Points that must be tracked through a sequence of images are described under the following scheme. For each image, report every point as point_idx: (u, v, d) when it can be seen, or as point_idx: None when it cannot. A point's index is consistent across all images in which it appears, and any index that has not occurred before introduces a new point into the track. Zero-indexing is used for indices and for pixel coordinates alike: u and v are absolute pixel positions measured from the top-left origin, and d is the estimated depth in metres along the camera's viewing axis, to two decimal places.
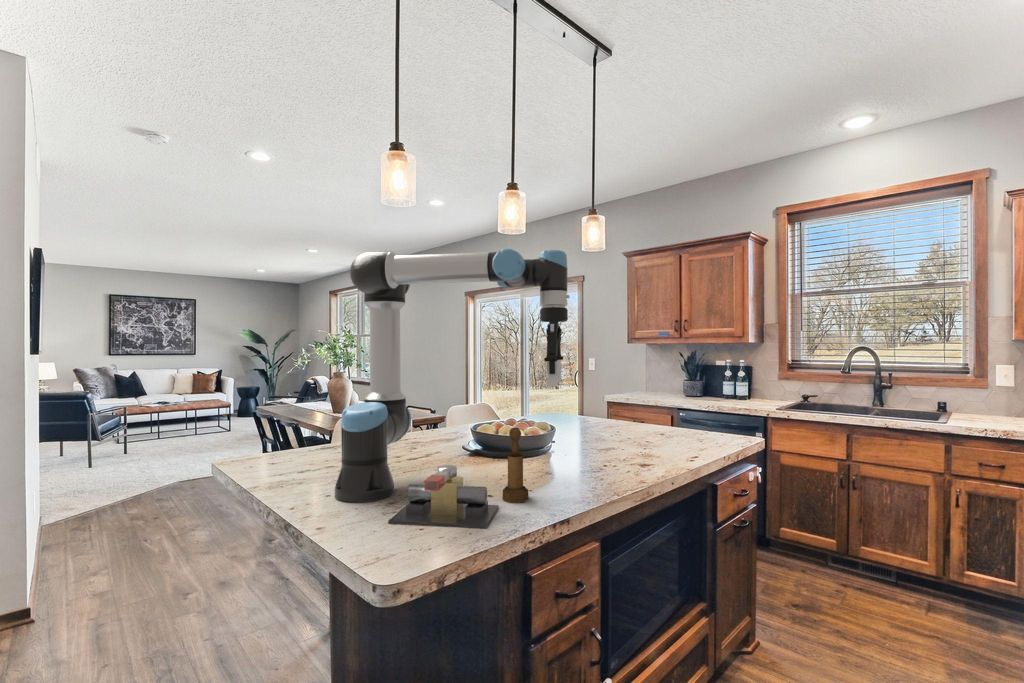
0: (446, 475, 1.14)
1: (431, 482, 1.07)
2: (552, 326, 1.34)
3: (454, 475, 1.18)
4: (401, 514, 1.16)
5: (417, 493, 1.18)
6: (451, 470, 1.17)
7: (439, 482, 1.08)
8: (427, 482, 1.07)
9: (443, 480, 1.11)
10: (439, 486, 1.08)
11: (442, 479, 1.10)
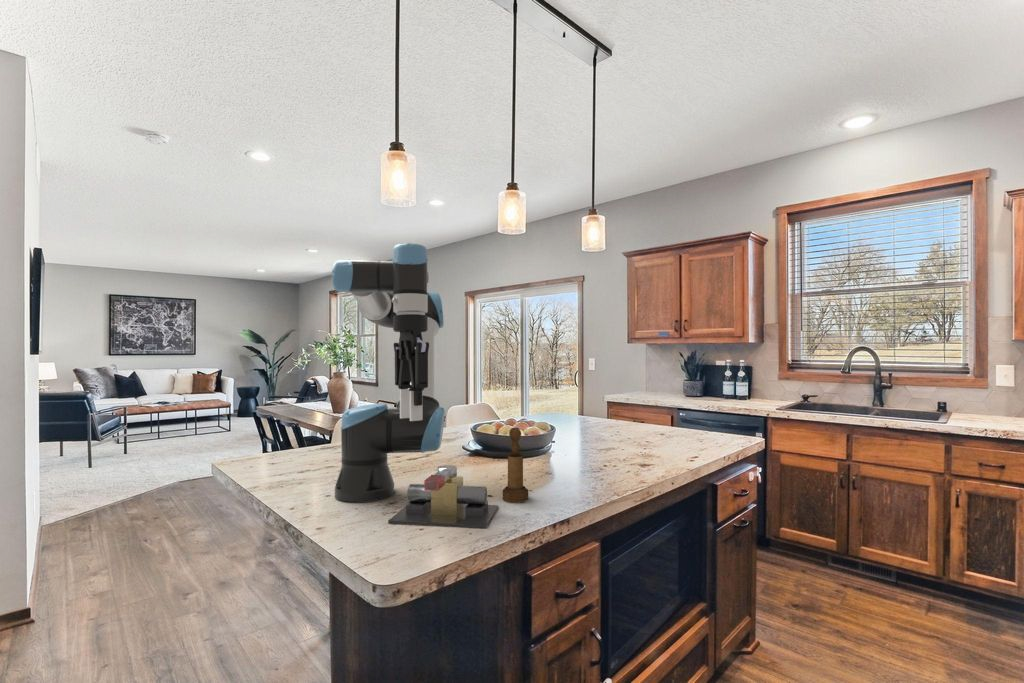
0: (446, 475, 1.14)
1: (431, 482, 1.07)
2: None
3: (454, 475, 1.18)
4: (401, 514, 1.16)
5: (417, 493, 1.18)
6: (451, 470, 1.17)
7: (439, 482, 1.08)
8: (427, 482, 1.07)
9: (443, 480, 1.11)
10: (439, 486, 1.08)
11: (442, 479, 1.10)
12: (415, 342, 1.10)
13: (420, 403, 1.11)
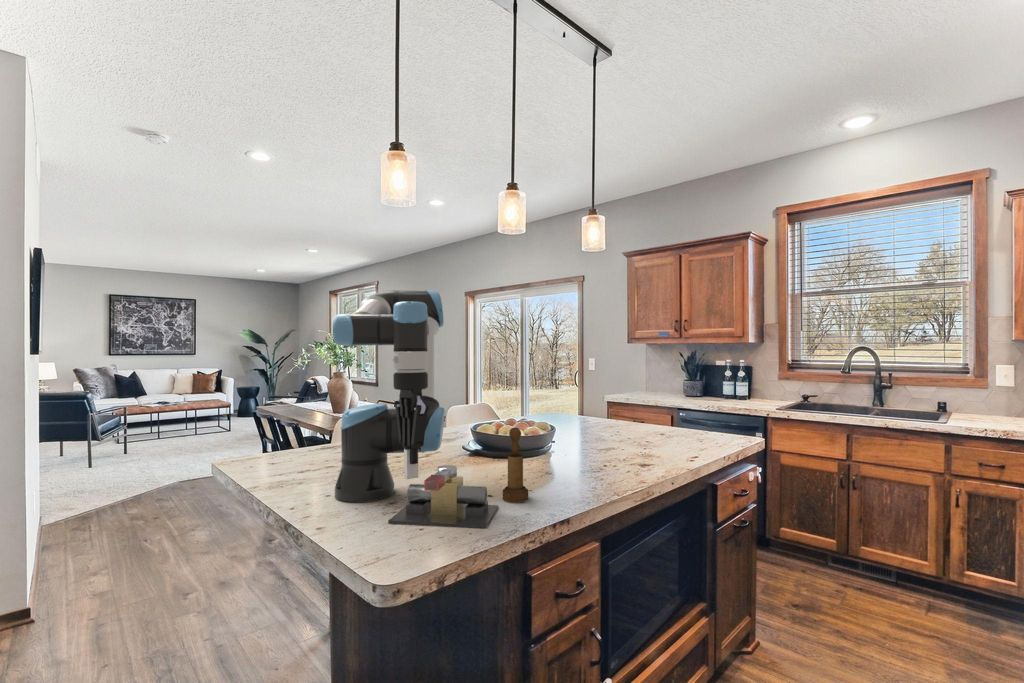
0: (446, 475, 1.14)
1: (431, 482, 1.07)
2: None
3: (454, 475, 1.18)
4: (401, 514, 1.16)
5: (417, 493, 1.18)
6: (451, 470, 1.17)
7: (439, 482, 1.08)
8: (427, 482, 1.07)
9: (443, 480, 1.11)
10: (439, 486, 1.08)
11: (442, 479, 1.10)
12: (415, 402, 1.10)
13: (416, 461, 1.12)
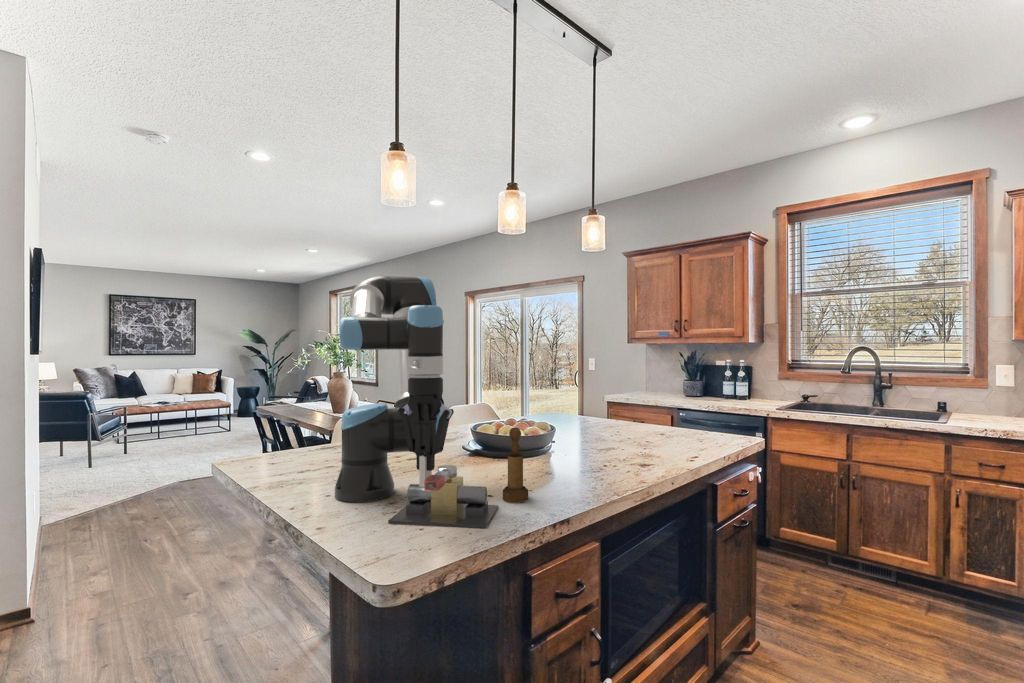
0: (446, 475, 1.14)
1: (431, 482, 1.07)
2: None
3: (454, 475, 1.18)
4: (401, 514, 1.16)
5: (417, 493, 1.18)
6: (451, 470, 1.17)
7: (439, 482, 1.08)
8: (427, 482, 1.07)
9: (443, 480, 1.11)
10: (439, 486, 1.08)
11: (442, 479, 1.10)
12: (439, 407, 1.09)
13: (433, 468, 1.11)
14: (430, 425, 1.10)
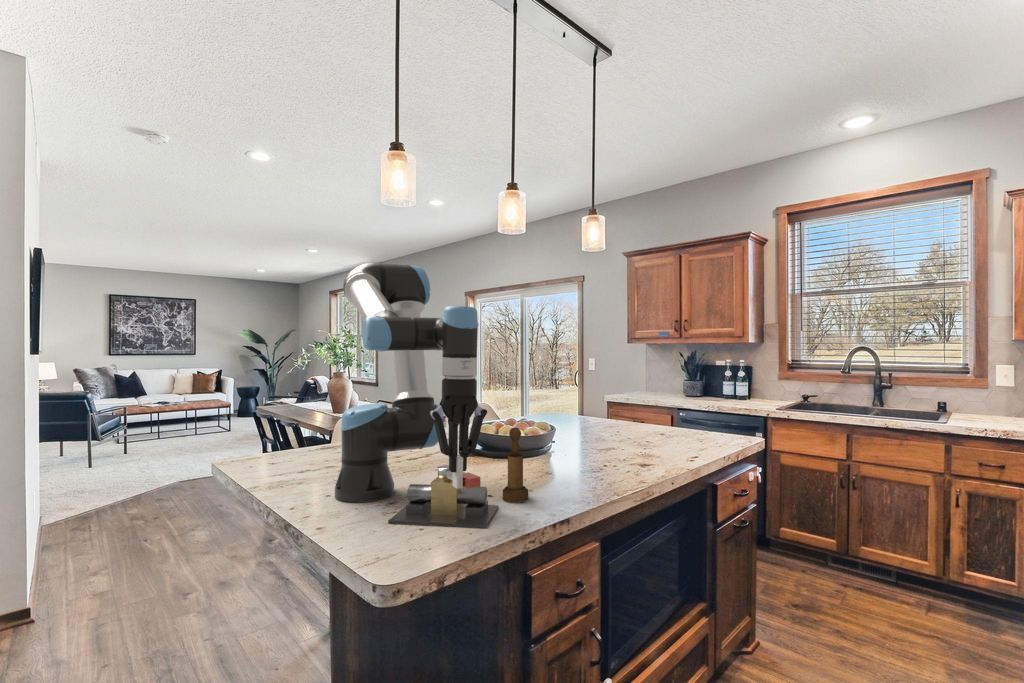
0: None
1: (474, 479, 1.09)
2: (432, 416, 1.08)
3: None
4: (401, 514, 1.16)
5: (417, 493, 1.18)
6: None
7: None
8: (471, 480, 1.09)
9: None
10: None
11: None
12: (476, 407, 1.12)
13: None
14: None
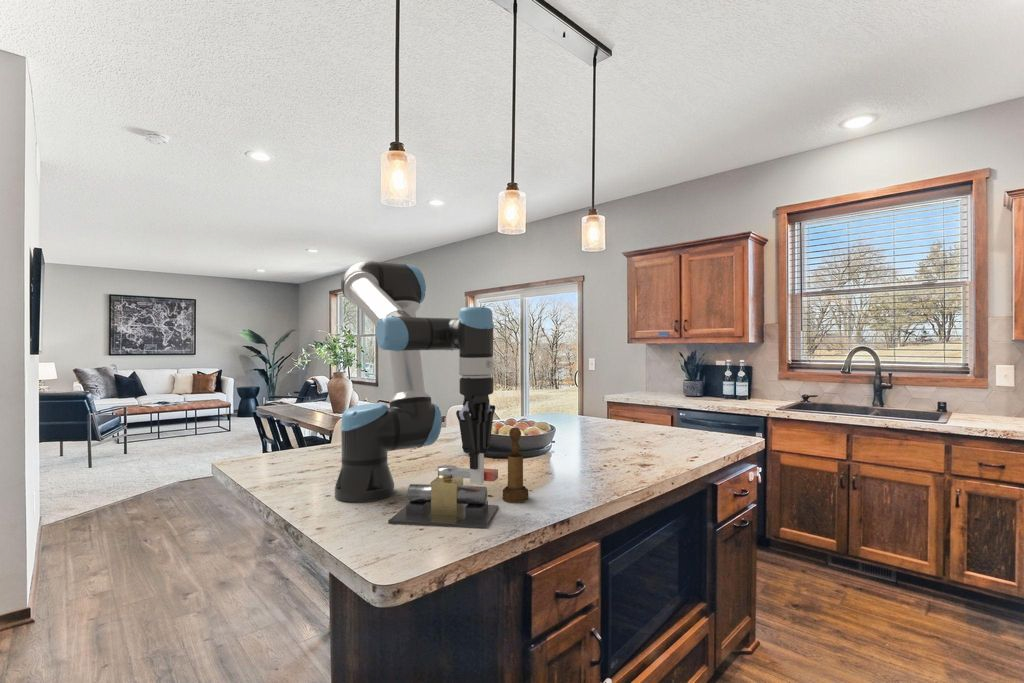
0: None
1: (495, 472, 1.15)
2: (461, 416, 1.08)
3: None
4: (401, 514, 1.16)
5: (417, 493, 1.18)
6: None
7: None
8: (494, 473, 1.14)
9: None
10: None
11: None
12: None
13: None
14: None
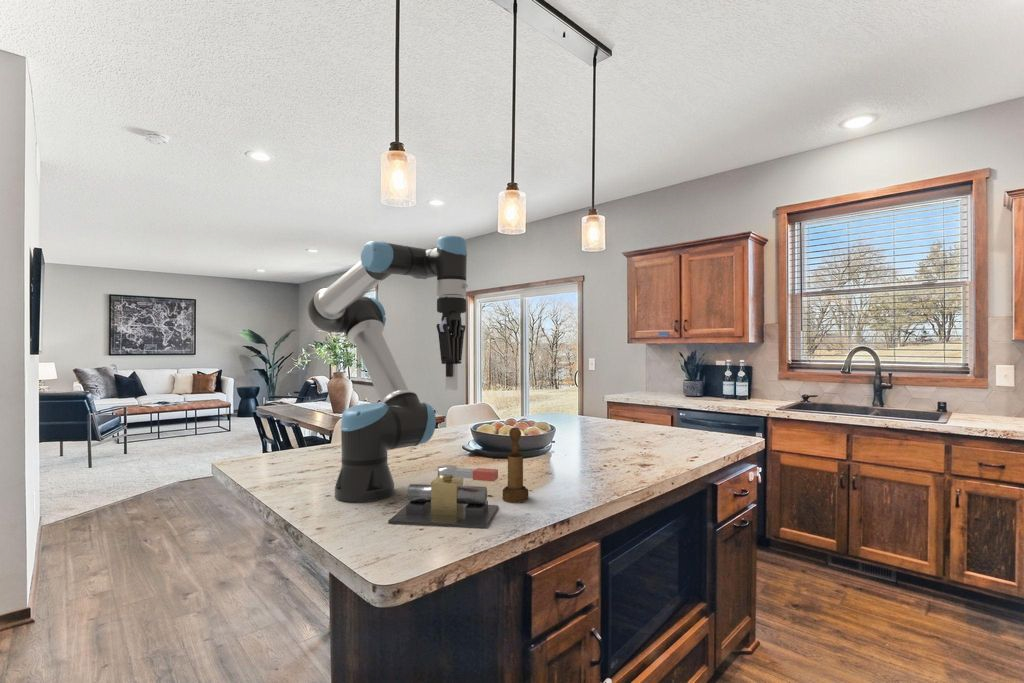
0: None
1: (495, 472, 1.15)
2: (441, 328, 1.25)
3: None
4: (401, 514, 1.16)
5: (417, 493, 1.18)
6: None
7: None
8: (494, 473, 1.14)
9: None
10: None
11: None
12: None
13: None
14: None
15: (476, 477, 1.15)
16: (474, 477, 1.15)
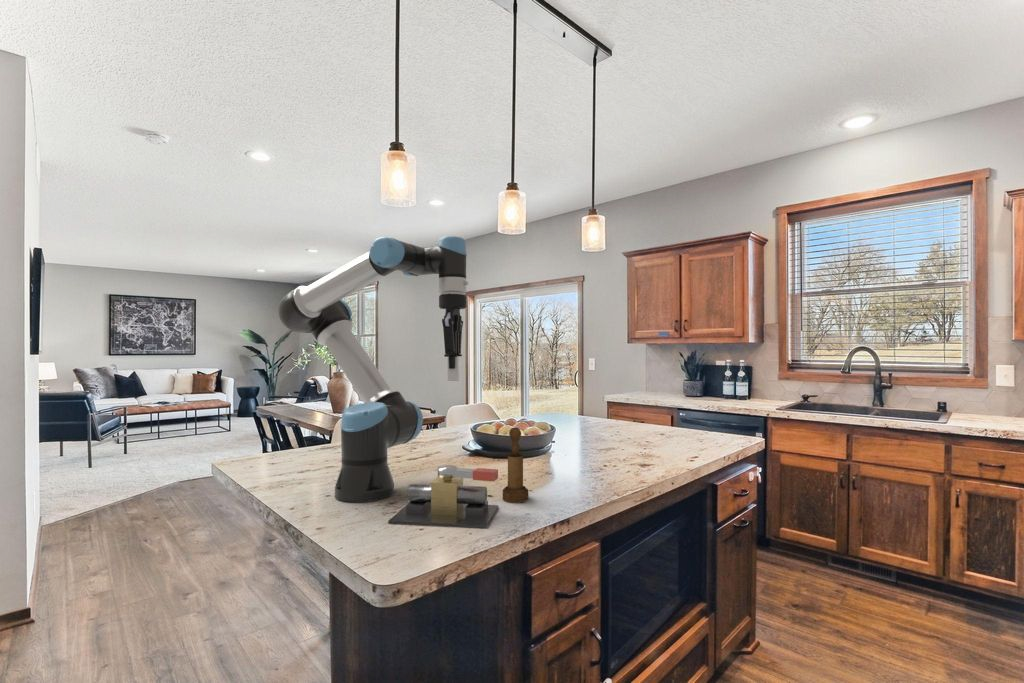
0: None
1: (495, 472, 1.15)
2: (446, 322, 1.34)
3: None
4: (401, 514, 1.16)
5: (417, 493, 1.18)
6: None
7: None
8: (494, 473, 1.14)
9: None
10: None
11: None
12: None
13: None
14: None
15: (476, 477, 1.15)
16: (474, 477, 1.15)
